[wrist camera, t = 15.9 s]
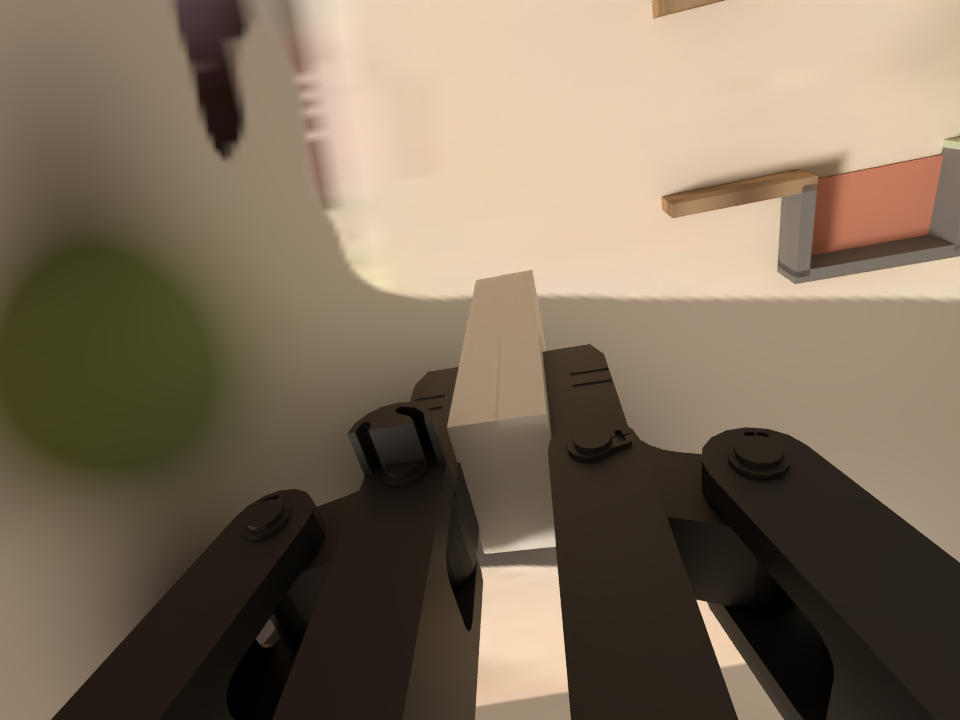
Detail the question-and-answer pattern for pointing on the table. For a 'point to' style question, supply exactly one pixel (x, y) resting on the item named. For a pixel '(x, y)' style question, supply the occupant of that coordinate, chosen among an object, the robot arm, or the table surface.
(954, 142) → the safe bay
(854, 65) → the table surface
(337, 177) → the table surface
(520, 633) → the table surface
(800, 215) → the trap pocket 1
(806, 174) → the chute
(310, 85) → the table surface
